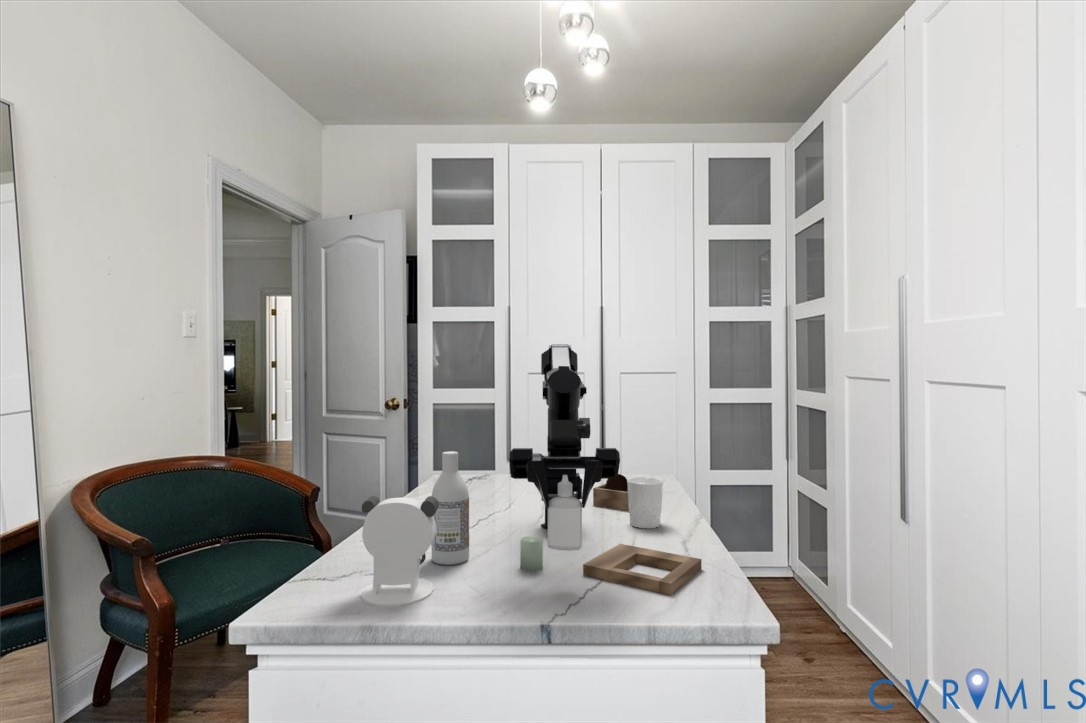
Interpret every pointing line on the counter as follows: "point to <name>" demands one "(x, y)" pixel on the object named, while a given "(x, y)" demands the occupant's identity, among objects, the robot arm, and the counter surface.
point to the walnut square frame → (625, 556)
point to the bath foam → (451, 514)
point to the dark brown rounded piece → (617, 483)
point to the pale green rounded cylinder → (531, 554)
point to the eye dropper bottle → (565, 519)
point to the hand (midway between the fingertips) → (565, 506)
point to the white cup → (645, 501)
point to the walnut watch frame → (610, 498)
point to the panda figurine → (398, 549)
